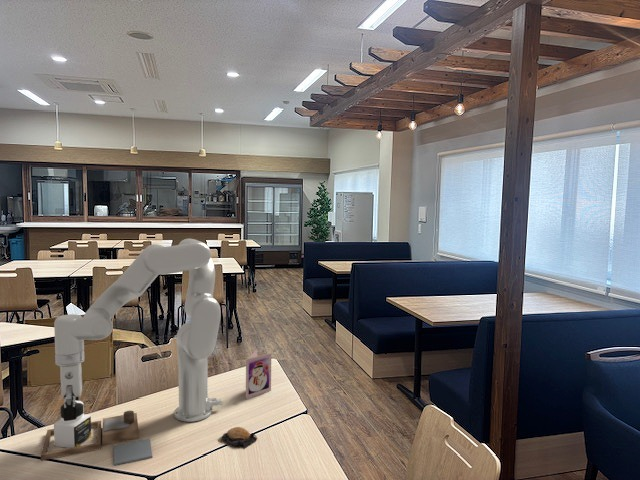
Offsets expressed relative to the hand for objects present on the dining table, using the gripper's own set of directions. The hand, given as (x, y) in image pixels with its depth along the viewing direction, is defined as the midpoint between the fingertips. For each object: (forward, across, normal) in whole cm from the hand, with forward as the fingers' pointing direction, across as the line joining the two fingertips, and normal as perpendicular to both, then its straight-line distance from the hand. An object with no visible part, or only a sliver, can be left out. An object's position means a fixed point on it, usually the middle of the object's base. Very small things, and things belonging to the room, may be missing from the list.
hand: (71, 412), depth 135 cm
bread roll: (+10, -18, -46) cm, 50 cm away
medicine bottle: (+9, 0, 0) cm, 9 cm away
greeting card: (+9, +12, -60) cm, 62 cm away
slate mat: (+9, -13, -16) cm, 23 cm away
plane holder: (+9, 0, -5) cm, 11 cm away
